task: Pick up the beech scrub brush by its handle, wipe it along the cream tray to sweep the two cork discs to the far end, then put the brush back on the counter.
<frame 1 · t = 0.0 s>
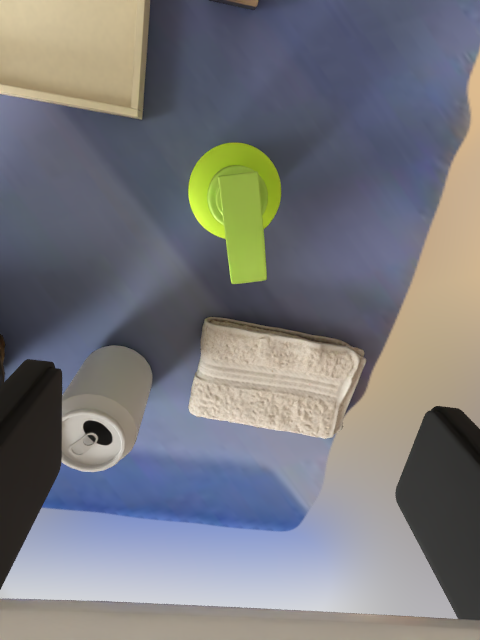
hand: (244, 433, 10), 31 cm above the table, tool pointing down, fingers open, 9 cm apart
lime green pump bottle: (229, 187, 38), on the table
can: (119, 371, 44), on the table
washcloth: (273, 373, 46), on the table
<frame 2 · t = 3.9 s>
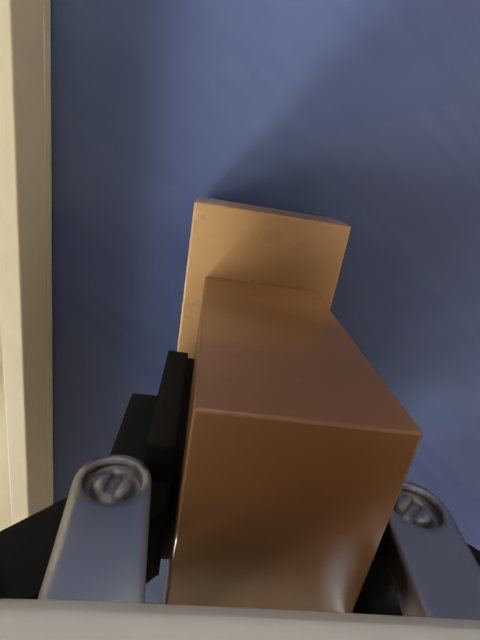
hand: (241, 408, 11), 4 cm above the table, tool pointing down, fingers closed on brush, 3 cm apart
brush: (235, 351, 15), on the table, touching gripper
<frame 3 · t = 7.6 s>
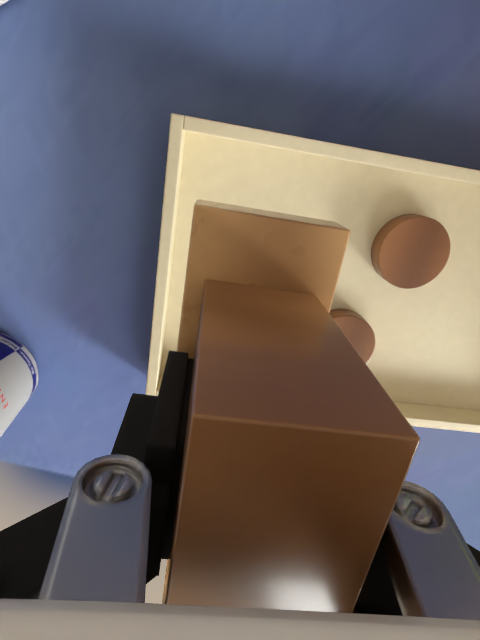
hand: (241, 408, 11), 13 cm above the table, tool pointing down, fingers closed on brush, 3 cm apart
tray: (370, 293, 25), on the table
cork disc b: (404, 249, 23), resting on tray
brush: (235, 353, 15), point 10 cm above the table, touching gripper
cork disc a: (336, 338, 25), resting on tray
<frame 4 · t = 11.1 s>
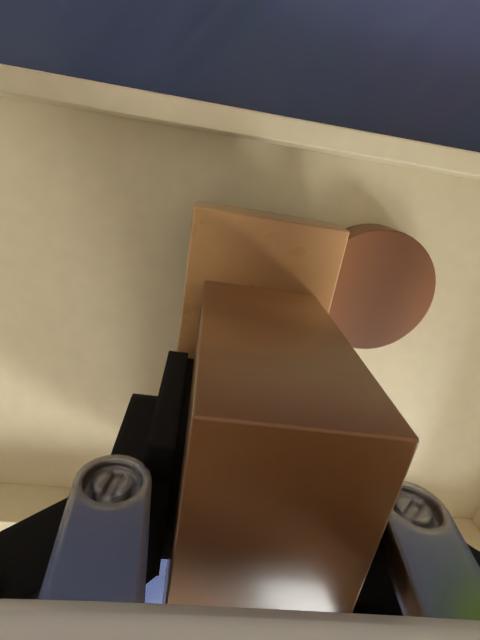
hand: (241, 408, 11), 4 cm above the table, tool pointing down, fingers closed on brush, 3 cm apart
tray: (235, 345, 15), on the table
cork disc b: (361, 282, 14), resting on tray, touching brush
brush: (234, 354, 15), point 1 cm above the table, touching cork disc b, gripper
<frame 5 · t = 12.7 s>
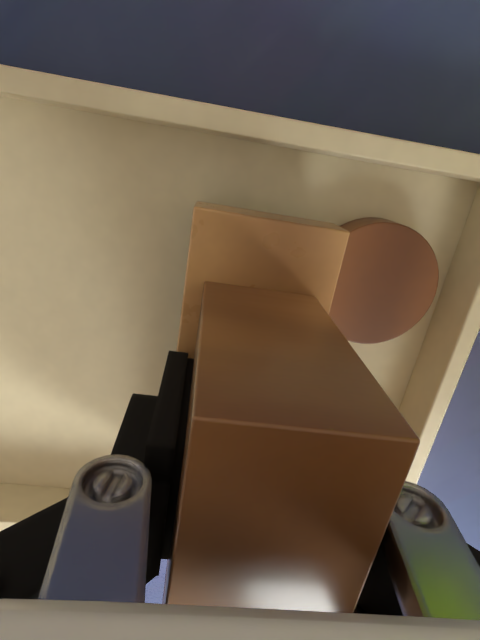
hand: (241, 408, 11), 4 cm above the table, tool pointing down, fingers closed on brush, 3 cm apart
tray: (91, 328, 15), on the table
cork disc b: (363, 276, 14), point 1 cm above the table, touching brush, tray
brush: (234, 355, 15), point 1 cm above the table, touching cork disc a, cork disc b, gripper, tray
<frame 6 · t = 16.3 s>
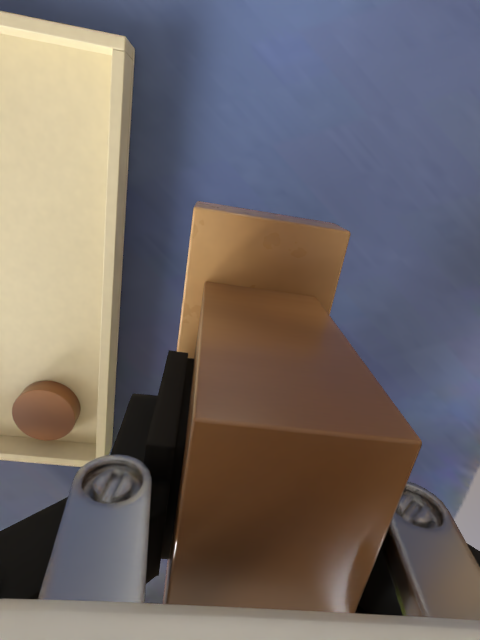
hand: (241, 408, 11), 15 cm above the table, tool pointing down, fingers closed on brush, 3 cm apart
cork disc b: (50, 405, 27), resting on tray
brush: (235, 355, 15), point 11 cm above the table, touching gripper
when the fingers open (4 cm above the table, at t = 19.0 s): brush stays where it is, on the table.
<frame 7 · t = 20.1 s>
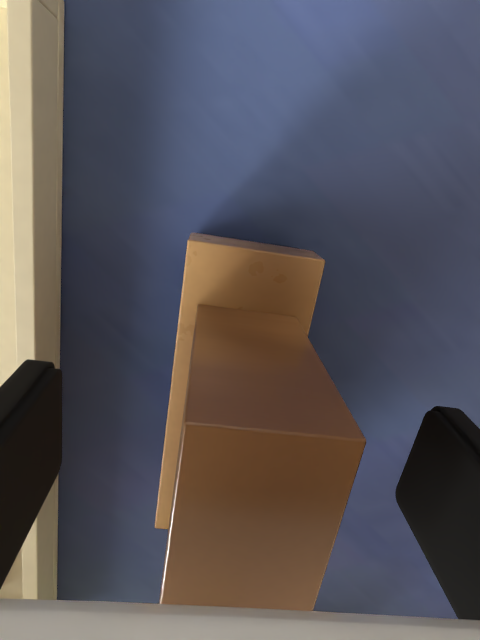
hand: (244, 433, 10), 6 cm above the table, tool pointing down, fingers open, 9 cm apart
brush: (227, 368, 16), on the table
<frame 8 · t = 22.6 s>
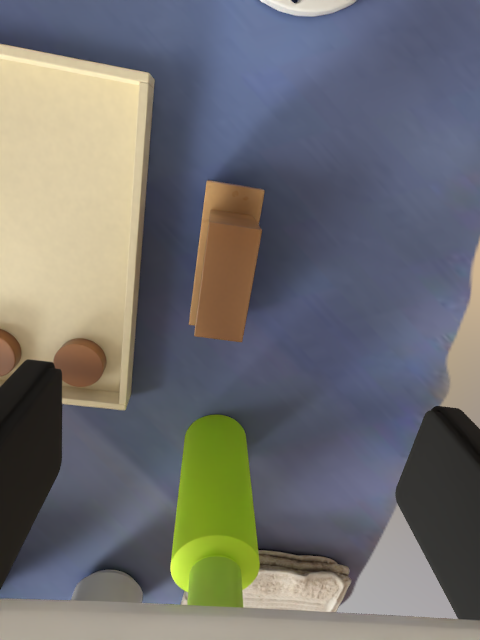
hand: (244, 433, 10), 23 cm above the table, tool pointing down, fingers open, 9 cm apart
tray: (41, 245, 31), on the table
lime green pump bottle: (216, 443, 39), on the table
can: (111, 586, 46), on the table
washcloth: (261, 582, 47), on the table
cork disc b: (82, 359, 34), resting on tray
brush: (223, 252, 32), on the table
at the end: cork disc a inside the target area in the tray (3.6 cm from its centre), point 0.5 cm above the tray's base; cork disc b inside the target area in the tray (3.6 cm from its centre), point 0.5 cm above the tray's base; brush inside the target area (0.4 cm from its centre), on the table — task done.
